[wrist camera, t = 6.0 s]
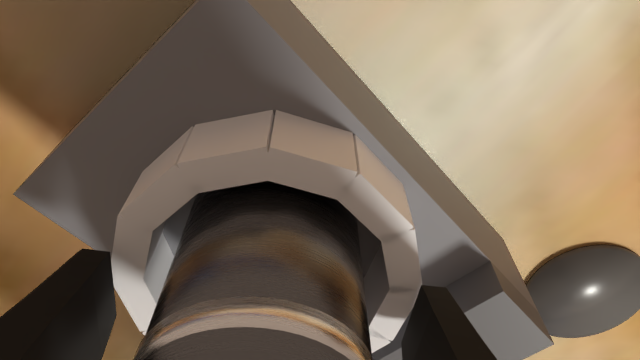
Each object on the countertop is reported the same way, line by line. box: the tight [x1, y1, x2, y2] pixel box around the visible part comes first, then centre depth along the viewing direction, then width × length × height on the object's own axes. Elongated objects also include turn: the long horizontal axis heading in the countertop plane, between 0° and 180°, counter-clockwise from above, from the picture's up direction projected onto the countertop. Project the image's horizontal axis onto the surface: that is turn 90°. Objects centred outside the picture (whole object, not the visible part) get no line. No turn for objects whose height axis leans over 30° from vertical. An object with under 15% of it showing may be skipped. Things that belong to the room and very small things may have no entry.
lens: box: [133, 181, 373, 360], centre depth 11 cm, size 4×4×6 cm
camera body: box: [13, 0, 554, 360], centre depth 15 cm, size 13×8×5 cm, turn 42°
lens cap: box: [526, 245, 640, 338], centre depth 20 cm, size 5×5×1 cm
